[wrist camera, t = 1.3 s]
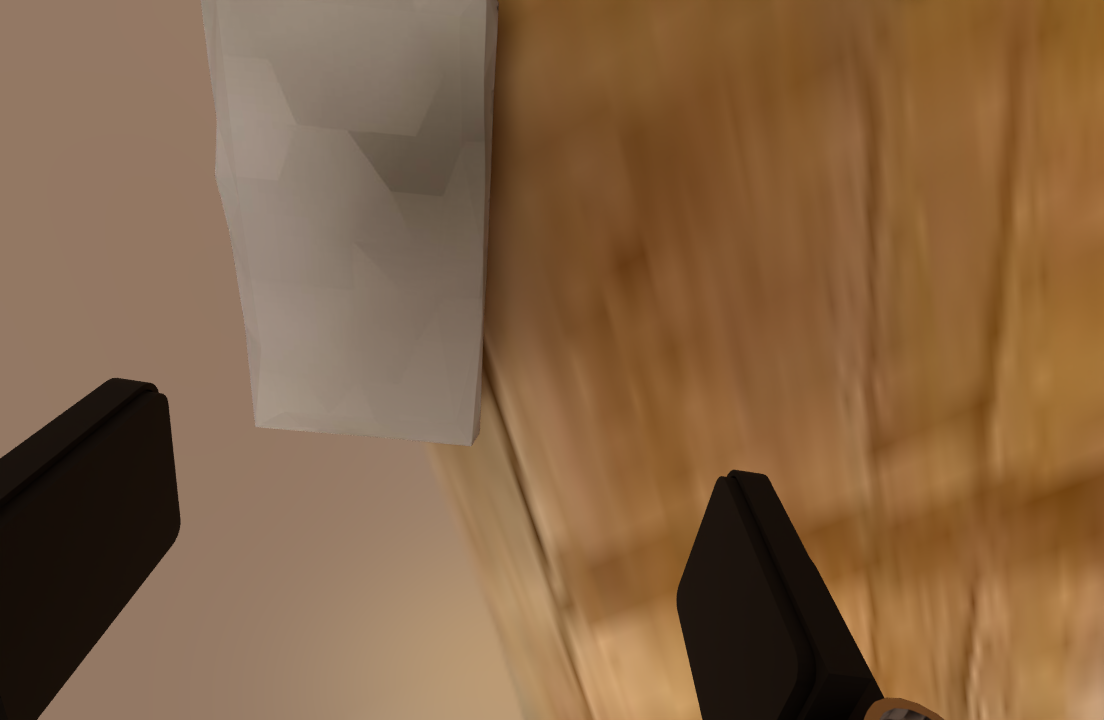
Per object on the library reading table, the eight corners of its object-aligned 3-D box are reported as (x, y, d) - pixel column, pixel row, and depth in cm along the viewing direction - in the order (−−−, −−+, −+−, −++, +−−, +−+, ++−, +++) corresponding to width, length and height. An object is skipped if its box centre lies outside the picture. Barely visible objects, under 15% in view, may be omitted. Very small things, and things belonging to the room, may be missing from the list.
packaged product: (511, -9, 24) (253, -34, 24) (496, -25, 20) (179, -56, 20) (490, 401, 32) (294, 382, 32) (476, 455, 27) (249, 433, 27)
